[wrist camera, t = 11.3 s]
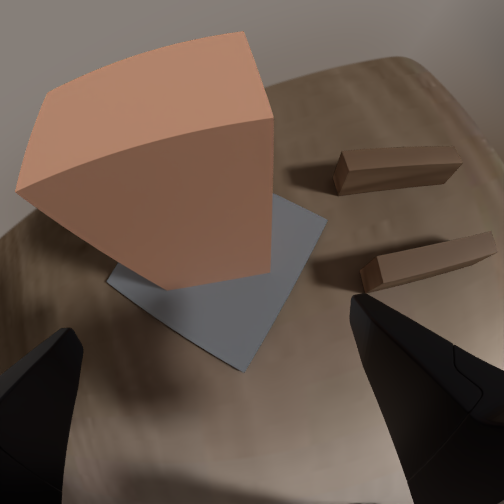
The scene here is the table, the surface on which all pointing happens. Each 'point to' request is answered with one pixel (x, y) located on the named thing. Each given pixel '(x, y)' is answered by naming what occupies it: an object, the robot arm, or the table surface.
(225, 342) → the slate mat
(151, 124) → the thick orange-brown block
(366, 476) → the table surface
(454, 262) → the slot holder
